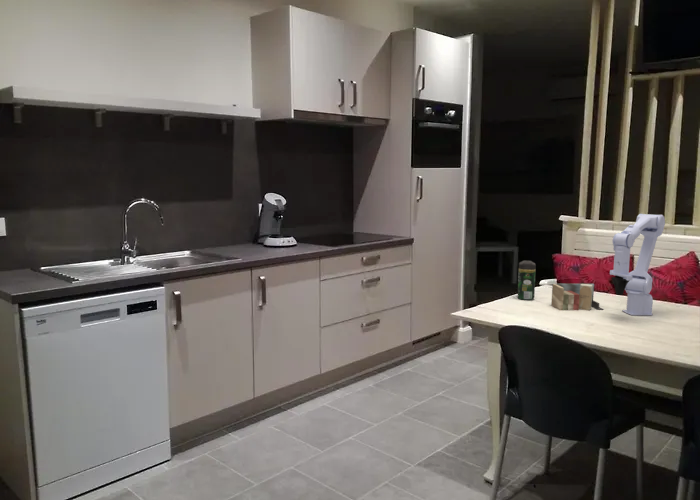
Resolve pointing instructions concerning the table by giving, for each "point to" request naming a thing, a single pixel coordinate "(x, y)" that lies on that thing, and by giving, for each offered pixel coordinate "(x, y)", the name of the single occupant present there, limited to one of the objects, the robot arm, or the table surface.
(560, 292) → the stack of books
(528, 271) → the coffee jar
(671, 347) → the table surface
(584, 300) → the box
